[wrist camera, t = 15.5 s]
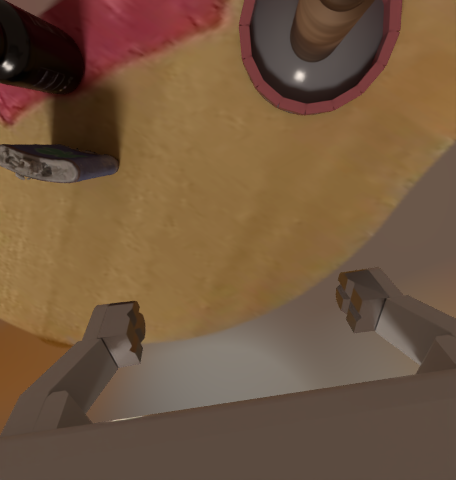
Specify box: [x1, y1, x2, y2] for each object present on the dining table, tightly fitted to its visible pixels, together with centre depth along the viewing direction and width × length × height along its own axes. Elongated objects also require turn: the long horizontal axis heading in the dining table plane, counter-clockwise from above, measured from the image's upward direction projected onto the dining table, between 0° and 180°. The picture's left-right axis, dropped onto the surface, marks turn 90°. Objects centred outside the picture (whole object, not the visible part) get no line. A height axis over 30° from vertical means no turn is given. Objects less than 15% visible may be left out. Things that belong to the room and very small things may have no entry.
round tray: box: [239, 0, 402, 115], centre depth 28 cm, size 15×15×2 cm
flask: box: [0, 144, 119, 183], centre depth 32 cm, size 9×3×11 cm, turn 78°
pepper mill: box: [290, 0, 375, 63], centre depth 23 cm, size 5×5×12 cm
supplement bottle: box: [0, 0, 84, 94], centre depth 27 cm, size 7×7×12 cm
